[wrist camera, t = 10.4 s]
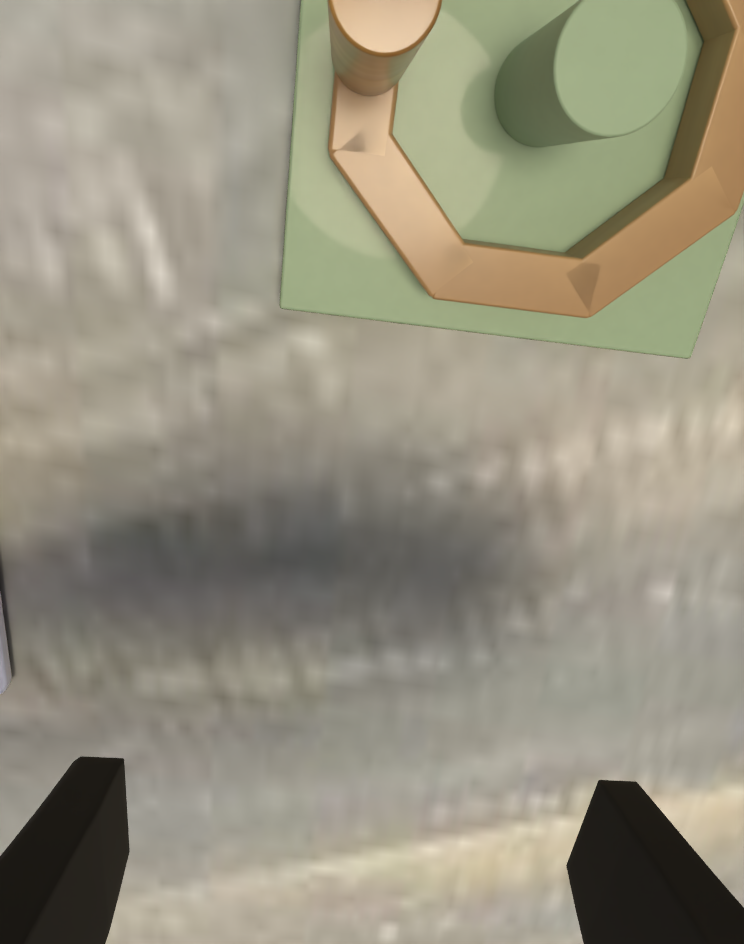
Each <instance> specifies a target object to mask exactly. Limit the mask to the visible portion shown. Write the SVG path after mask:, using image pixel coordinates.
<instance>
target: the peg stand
mask: <svg viewBox="0 0 744 944" xmlns="http://www.w3.org/2000/svg"><path fill="white" fill-rule="evenodd" d="M703 43H704V40H703V37H702V35H701V33H700V31H699V28H698V26H697V24H696V22H695V19H694V17H693V15H692V13H691V10H690V8H689V6H688V4H687V1H686V0H442V5H441V9H440V12H439V15H438V18H437V20H436V22H435V24H434V26H433V28H432V30H431V31H430V33H429V34H428V36H427V38H426V39H425V41H424V42H423V44H422V45H421V47H420V49H419V50H418V52H417V53H416V55H415V57H414V58H413V60H412V61H411V63H410V64H409V66H408V68H407V69H406V71H405V72H404V74H403V75H402V77H401V79H400V80H399V85H398V93H397V101H396V109H395V117H394V125H393V133H392V134H393V136H394V137H395V139H396V140H397V142H398V143H399V145H400V146H401V148H402V149H403V151H404V152H405V154H406V155H407V157H408V158H409V160H410V161H411V163H412V164H413V166H414V167H415V169H416V170H417V172H418V173H419V175H420V176H421V178H422V179H423V181H424V182H425V184H426V185H427V187H428V188H429V190H430V191H431V193H432V194H433V196H434V197H435V199H436V200H437V202H438V203H439V205H440V206H441V208H442V209H443V211H444V212H445V214H446V215H447V217H448V218H449V220H450V221H451V223H452V224H453V226H454V227H455V229H456V230H457V232H458V233H459V235H460V236H461V238H462V239H468V240H476V241H483V242H490V243H498V244H505V245H513V246H520V247H527V248H535V249H542V250H550V251H557V252H566V251H568V250H569V249H570V248H572V247H573V246H574V245H576V244H577V243H578V242H580V241H581V240H582V239H584V238H585V237H586V236H588V235H589V234H590V233H592V232H593V231H594V230H596V229H597V228H598V227H600V226H601V225H602V224H604V223H605V222H606V221H608V220H609V219H610V218H612V217H613V216H614V215H616V214H617V213H618V212H620V211H621V210H622V209H624V208H625V207H626V206H628V205H629V204H630V203H632V202H633V201H634V200H636V199H637V198H638V197H640V196H641V195H642V194H643V193H645V192H646V191H647V190H649V189H650V188H651V187H653V186H654V185H655V184H657V183H658V182H659V181H661V180H662V179H663V178H664V177H665V173H666V170H667V166H668V163H669V159H670V156H671V153H672V149H673V146H674V142H675V139H676V135H677V132H678V129H679V125H680V122H681V118H682V115H683V111H684V108H685V104H686V101H687V98H688V94H689V91H690V87H691V84H692V80H693V77H694V74H695V70H696V67H697V63H698V60H699V56H700V53H701V49H702V46H703ZM334 73H335V69H334V66H333V62H332V57H331V44H330V30H329V16H328V1H327V0H301V4H300V18H299V33H298V47H297V61H296V76H295V90H294V104H293V119H292V133H291V147H290V162H289V176H288V190H287V205H286V219H285V233H284V248H283V262H282V276H281V291H280V308H282V309H287V310H295V311H304V312H312V313H320V314H328V315H336V316H344V317H352V318H360V319H369V320H377V321H385V322H393V323H401V324H409V325H417V326H425V327H433V328H442V329H450V330H458V331H466V332H474V333H482V334H490V335H498V336H507V337H515V338H523V339H531V340H539V341H547V342H555V343H563V344H571V345H580V346H588V347H596V348H604V349H612V350H620V351H628V352H636V353H644V354H653V355H661V356H669V357H677V358H685V359H688V358H690V357H691V355H692V352H693V349H694V346H695V343H696V341H697V338H698V335H699V332H700V329H701V326H702V323H703V320H704V317H705V314H706V312H707V309H708V306H709V303H710V300H711V297H712V294H713V291H714V288H715V286H716V283H717V280H718V277H719V274H720V271H721V268H722V265H723V262H724V259H725V257H726V254H727V251H728V248H729V245H730V242H731V239H732V236H733V233H734V231H735V228H736V225H737V222H738V219H739V216H740V213H741V210H742V207H743V204H744V192H743V195H742V198H741V201H740V204H739V207H738V210H737V211H736V212H735V214H734V215H733V216H731V217H730V218H728V219H727V220H726V221H724V222H723V223H721V224H720V225H719V226H717V227H716V228H714V229H713V230H712V231H710V232H709V233H708V234H706V235H705V236H703V237H702V238H701V239H699V240H698V241H696V242H695V243H694V244H692V245H691V246H689V247H688V248H687V249H685V250H684V251H682V252H681V253H680V254H678V255H677V256H675V257H674V258H673V259H671V260H670V261H669V262H667V263H666V264H664V265H663V266H662V267H660V268H659V269H657V270H656V271H655V272H653V273H652V274H650V275H649V276H648V277H646V278H645V279H643V280H642V281H641V282H639V283H638V284H636V285H635V286H634V287H632V288H631V289H630V290H628V291H627V292H625V293H624V294H623V295H621V296H620V297H618V298H617V299H616V300H614V301H613V302H611V303H610V304H609V305H607V306H606V307H604V308H603V309H602V310H600V311H599V312H597V313H596V314H595V315H593V316H592V317H589V318H580V317H572V316H564V315H556V314H548V313H540V312H532V311H524V310H516V309H508V308H500V307H492V306H484V305H476V304H468V303H460V302H452V301H444V300H436V299H433V298H432V297H431V296H429V295H428V294H427V292H426V291H425V289H424V288H423V287H422V285H421V284H420V283H419V281H418V280H417V278H416V277H415V276H414V274H413V273H412V271H411V270H410V269H409V267H408V266H407V264H406V263H405V262H404V260H403V259H402V257H401V256H400V255H399V253H398V252H397V250H396V249H395V248H394V246H393V245H392V244H391V242H390V241H389V239H388V238H387V237H386V235H385V234H384V232H383V231H382V230H381V228H380V227H379V225H378V224H377V223H376V221H375V220H374V218H373V217H372V216H371V214H370V213H369V211H368V210H367V209H366V207H365V206H364V204H363V203H362V202H361V200H360V199H359V198H358V196H357V195H356V193H355V192H354V191H353V189H352V188H351V186H350V185H349V184H348V182H347V181H346V179H345V178H344V177H343V175H342V174H341V172H340V171H339V170H338V168H337V167H336V165H335V164H334V163H333V161H332V160H331V158H330V155H329V151H328V140H329V129H330V118H331V106H332V95H333V84H334Z"/></svg>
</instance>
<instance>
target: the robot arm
mask: <svg viewBox="0 0 744 944" xmlns="http://www.w3.org/2000/svg"><path fill="white" fill-rule="evenodd" d="M11 680H12V674H11V667H10V660H9V652H8V645H7V637H6V630H5V622H4V615H3V607H2V600H1V593H0V694H1V693H4V691H5V690H6V689H7V688H8V686H9V684H10V683H11ZM128 855H129V835H128V819H127V802H126V785H125V768H124V759H123V758H101V757H80V758H78V759H77V760H75V761H74V762H73V763H72V764H71V766H70V767H69V768H68V770H67V771H66V773H65V774H64V775H63V777H62V778H61V779H60V781H59V782H58V783H57V785H56V786H55V787H54V789H53V790H52V791H51V793H50V794H49V795H48V797H47V798H46V799H45V801H44V802H43V803H42V804H41V806H40V807H39V808H38V810H37V811H36V812H35V814H34V815H33V816H32V817H31V819H30V820H29V821H28V822H27V824H26V825H25V826H24V827H23V829H22V830H21V831H20V832H19V834H18V835H17V836H16V837H15V839H14V840H13V841H12V842H11V844H10V845H9V846H8V847H7V849H6V850H5V851H4V852H3V854H2V855H1V856H0V944H105V942H106V939H107V937H108V934H109V930H110V927H111V923H112V919H113V915H114V911H115V907H116V903H117V900H118V896H119V892H120V888H121V884H122V880H123V876H124V871H125V867H126V863H127V859H128ZM566 866H567V870H568V875H569V880H570V885H571V889H572V894H573V899H574V904H575V908H576V913H577V917H578V921H579V925H580V930H581V934H582V938H583V942H584V944H744V908H743V907H742V905H741V904H740V903H739V902H738V901H737V900H736V899H735V897H734V896H733V895H732V894H731V893H730V892H729V890H728V889H727V888H726V887H725V886H724V885H723V884H722V882H721V881H720V880H719V879H718V878H717V877H716V875H715V874H714V873H713V872H712V871H711V869H710V868H709V867H708V866H707V865H706V864H705V862H704V861H703V860H702V859H701V858H700V857H699V855H698V854H697V853H696V852H695V851H694V849H693V848H692V847H691V846H690V845H689V844H688V842H687V841H686V840H685V839H684V838H683V836H682V835H681V834H680V833H679V832H678V830H677V829H676V828H675V827H674V826H673V825H672V823H671V822H670V821H669V820H668V819H667V817H666V816H665V815H664V814H663V813H662V811H661V810H660V809H659V808H658V807H657V805H656V804H655V803H654V802H653V801H652V800H651V798H650V797H649V796H648V795H647V794H646V793H645V791H644V790H643V789H642V788H641V787H640V786H639V784H638V783H637V782H631V781H609V780H599V781H598V783H597V786H596V789H595V791H594V794H593V797H592V799H591V802H590V805H589V807H588V810H587V813H586V815H585V818H584V820H583V823H582V826H581V828H580V831H579V834H578V836H577V839H576V842H575V844H574V847H573V849H572V852H571V855H570V857H569V860H568V863H567V865H566Z"/></svg>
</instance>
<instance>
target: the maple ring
mask: <svg viewBox="0 0 744 944" xmlns="http://www.w3.org/2000/svg"><path fill="white" fill-rule="evenodd" d="M327 1H328V16H329V30H330V44H331V57H332V62H333V66H334V69H335V73H334V84H333V95H332V106H331V118H330V129H329V140H328V151H329V155H330V158H331V160H332V161H333V163H334V164H335V165H336V167H337V168H338V170H339V171H340V172H341V174H342V175H343V177H344V178H345V179H346V181H347V182H348V184H349V185H350V186H351V188H352V189H353V191H354V192H355V193H356V195H357V196H358V198H359V199H360V200H361V202H362V203H363V204H364V206H365V207H366V209H367V210H368V211H369V213H370V214H371V216H372V217H373V218H374V220H375V221H376V223H377V224H378V225H379V227H380V228H381V230H382V231H383V232H384V234H385V235H386V237H387V238H388V239H389V241H390V242H391V244H392V245H393V246H394V248H395V249H396V250H397V252H398V253H399V255H400V256H401V257H402V259H403V260H404V262H405V263H406V264H407V266H408V267H409V269H410V270H411V271H412V273H413V274H414V276H415V277H416V278H417V280H418V281H419V283H420V284H421V285H422V287H423V288H424V289H425V291H426V292H427V294H428V295H429V296H431V297H432V298H433V299H436V300H444V301H452V302H460V303H468V304H476V305H484V306H492V307H500V308H508V309H516V310H524V311H532V312H540V313H548V314H556V315H564V316H572V317H580V318H589V317H592V316H593V315H595V314H596V313H597V312H599V311H600V310H602V309H603V308H604V307H606V306H607V305H609V304H610V303H611V302H613V301H614V300H616V299H617V298H618V297H620V296H621V295H623V294H624V293H625V292H627V291H628V290H630V289H631V288H632V287H634V286H635V285H636V284H638V283H639V282H641V281H642V280H643V279H645V278H646V277H648V276H649V275H650V274H652V273H653V272H655V271H656V270H657V269H659V268H660V267H662V266H663V265H664V264H666V263H667V262H669V261H670V260H671V259H673V258H674V257H675V256H677V255H678V254H680V253H681V252H682V251H684V250H685V249H687V248H688V247H689V246H691V245H692V244H694V243H695V242H696V241H698V240H699V239H701V238H702V237H703V236H705V235H706V234H708V233H709V232H710V231H712V230H713V229H714V228H716V227H717V226H719V225H720V224H721V223H723V222H724V221H726V220H727V219H728V218H730V217H731V216H733V215H734V214H735V212H736V211H737V210H738V207H739V204H740V201H741V198H742V195H743V192H744V0H686V1H687V4H688V6H689V8H690V10H691V13H692V15H693V17H694V19H695V22H696V24H697V26H698V28H699V31H700V33H701V35H702V37H703V40H704V43H703V46H702V49H701V53H700V56H699V60H698V63H697V67H696V70H695V74H694V77H693V80H692V84H691V87H690V91H689V94H688V98H687V101H686V104H685V108H684V111H683V115H682V118H681V122H680V125H679V129H678V132H677V135H676V139H675V142H674V146H673V149H672V153H671V156H670V159H669V163H668V166H667V170H666V173H665V177H664V178H663V179H662V180H661V181H659V182H658V183H657V184H655V185H654V186H653V187H651V188H650V189H649V190H647V191H646V192H645V193H643V194H642V195H641V196H640V197H638V198H637V199H636V200H634V201H633V202H632V203H630V204H629V205H628V206H626V207H625V208H624V209H622V210H621V211H620V212H618V213H617V214H616V215H614V216H613V217H612V218H610V219H609V220H608V221H606V222H605V223H604V224H602V225H601V226H600V227H598V228H597V229H596V230H594V231H593V232H592V233H590V234H589V235H588V236H586V237H585V238H584V239H582V240H581V241H580V242H578V243H577V244H576V245H574V246H573V247H572V248H570V249H569V250H568V251H566V252H557V251H550V250H542V249H535V248H527V247H520V246H513V245H505V244H498V243H490V242H483V241H476V240H468V239H462V238H461V236H460V235H459V233H458V232H457V230H456V229H455V227H454V226H453V224H452V223H451V221H450V220H449V218H448V217H447V215H446V214H445V212H444V211H443V209H442V208H441V206H440V205H439V203H438V202H437V200H436V199H435V197H434V196H433V194H432V193H431V191H430V190H429V188H428V187H427V185H426V184H425V182H424V181H423V179H422V178H421V176H420V175H419V173H418V172H417V170H416V169H415V167H414V166H413V164H412V163H411V161H410V160H409V158H408V157H407V155H406V154H405V152H404V151H403V149H402V148H401V146H400V145H399V143H398V142H397V140H396V139H395V137H394V136H393V134H392V133H393V125H394V117H395V109H396V101H397V93H398V85H399V80H400V79H401V77H402V75H403V74H404V72H405V71H406V69H407V68H408V66H409V64H410V63H411V61H412V60H413V58H414V57H415V55H416V53H417V52H418V50H419V49H420V47H421V45H422V44H423V42H424V41H425V39H426V38H427V36H428V34H429V33H430V31H431V30H432V28H433V26H434V24H435V22H436V20H437V18H438V15H439V12H440V9H441V5H442V0H327Z"/></svg>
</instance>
